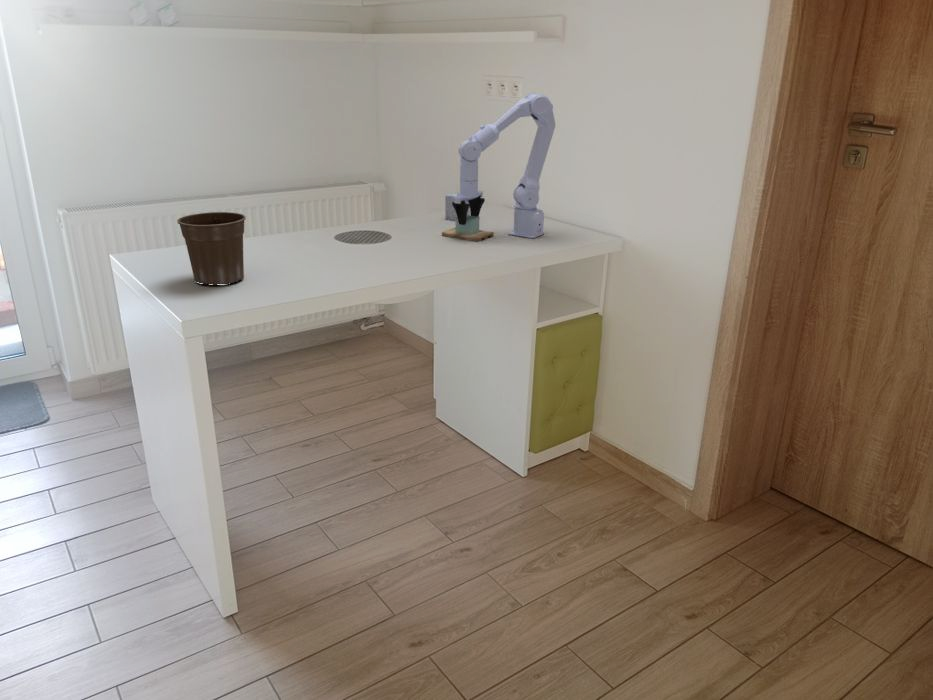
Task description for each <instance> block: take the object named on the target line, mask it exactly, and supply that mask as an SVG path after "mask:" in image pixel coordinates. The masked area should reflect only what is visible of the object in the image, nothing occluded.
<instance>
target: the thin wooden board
mask: <svg viewBox="0 0 933 700" xmlns="http://www.w3.org/2000/svg"><path fill="white" fill-rule="evenodd" d="M441 235H442V237H447V238H448V237H449V238H453V237H455V238H454V239H459V238H461V240H465V239H468V240H467V241H471V240H473V242H477V241H480V242H482V241H483V240H487V239H489V238H492V236H493V237H494V235H495V232H494V231H488V230H481V229H479V232H478V233H475V234H472V235H469V234H462V233H456V227H453V228H450V229H448V230H447V229H446V230H445V231H444V230H443V231H442V232H441Z"/></svg>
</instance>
